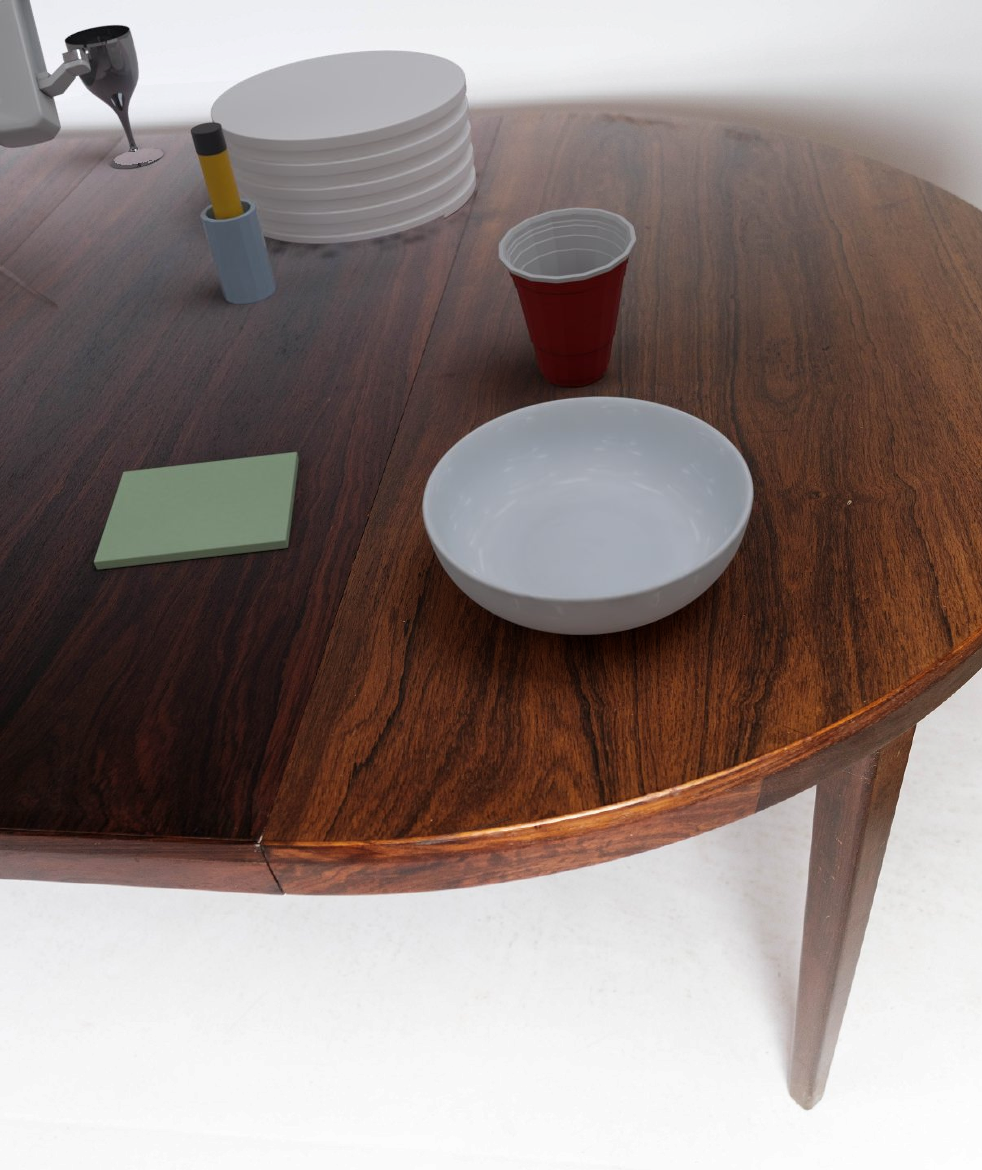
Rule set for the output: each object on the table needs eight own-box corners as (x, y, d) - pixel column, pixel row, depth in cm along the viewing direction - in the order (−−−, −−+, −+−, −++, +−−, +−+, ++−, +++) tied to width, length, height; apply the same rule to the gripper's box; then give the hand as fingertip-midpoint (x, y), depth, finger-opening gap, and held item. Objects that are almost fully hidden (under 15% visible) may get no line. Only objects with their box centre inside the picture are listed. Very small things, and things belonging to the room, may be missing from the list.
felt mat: (96, 570, 76) (93, 561, 76) (126, 479, 84) (123, 471, 84) (288, 548, 76) (285, 539, 75) (299, 459, 84) (297, 451, 83)
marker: (234, 299, 105) (188, 135, 94) (237, 286, 107) (192, 124, 96) (262, 296, 104) (219, 131, 94) (265, 283, 107) (223, 120, 96)
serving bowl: (499, 455, 82) (491, 379, 77) (772, 497, 75) (781, 416, 70) (384, 640, 68) (365, 561, 63) (705, 712, 61) (711, 629, 56)
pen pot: (222, 312, 104) (197, 224, 98) (229, 287, 108) (204, 202, 102) (274, 306, 104) (252, 218, 98) (279, 281, 108) (257, 195, 102)
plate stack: (193, 206, 125) (163, 106, 117) (378, 132, 137) (363, 37, 129) (329, 272, 108) (306, 160, 100) (526, 181, 121) (518, 75, 113)
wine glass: (179, 148, 140) (143, 26, 130) (141, 172, 135) (100, 46, 125) (132, 145, 143) (93, 24, 133) (93, 167, 138) (50, 44, 128)
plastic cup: (485, 387, 89) (469, 253, 81) (551, 328, 95) (543, 199, 87) (597, 418, 84) (592, 279, 76) (659, 354, 90) (661, 219, 82)
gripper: (-66, -44, 102) (63, -87, 100) (-13, 167, 103) (116, 128, 101) (-112, -78, 95) (26, -126, 93) (-54, 147, 97) (83, 105, 95)
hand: (73, 8), depth 97 cm, fingers open, 8 cm apart
